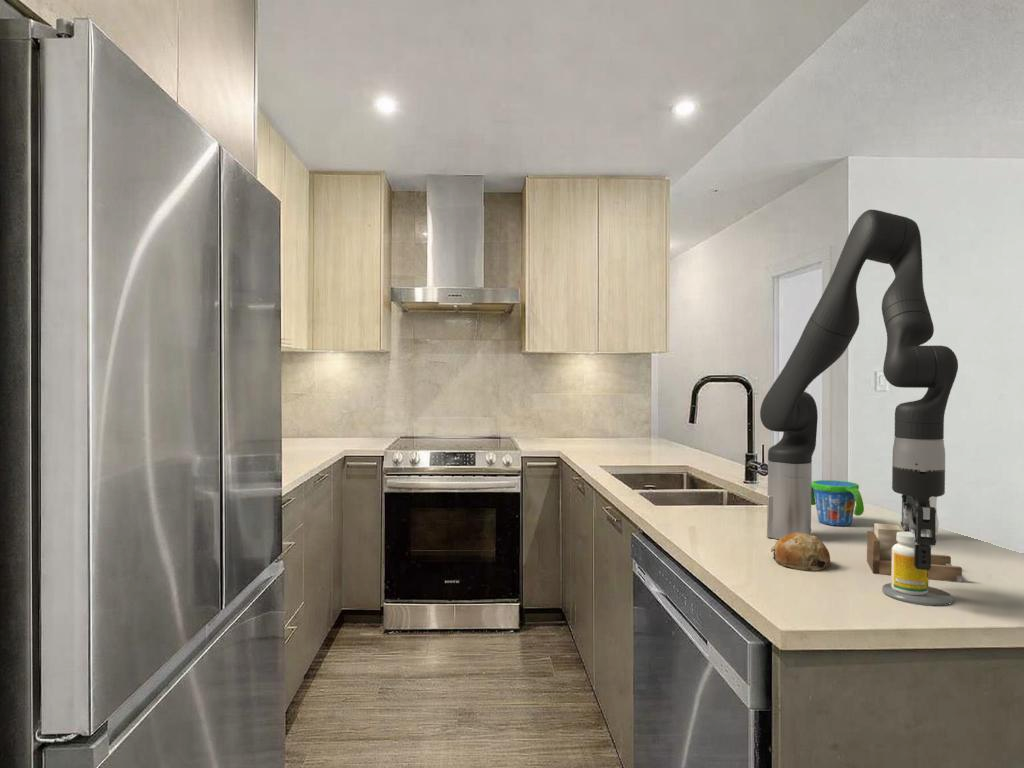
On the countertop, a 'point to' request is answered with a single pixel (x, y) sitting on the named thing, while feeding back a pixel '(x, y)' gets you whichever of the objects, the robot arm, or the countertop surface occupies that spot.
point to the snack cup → (836, 501)
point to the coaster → (920, 596)
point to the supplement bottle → (907, 567)
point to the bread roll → (801, 552)
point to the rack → (882, 555)
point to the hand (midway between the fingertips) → (917, 562)
